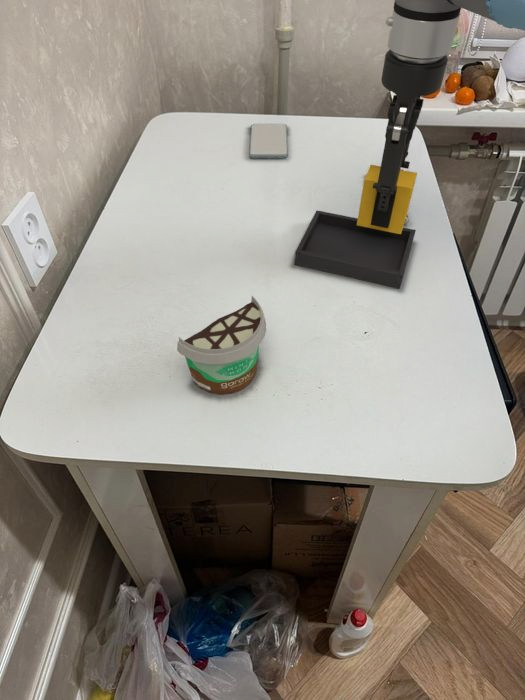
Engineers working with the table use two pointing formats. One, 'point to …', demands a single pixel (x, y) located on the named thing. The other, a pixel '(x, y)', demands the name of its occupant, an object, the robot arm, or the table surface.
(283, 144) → the rounded grey tile
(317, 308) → the table surface
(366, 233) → the black shallow rectangular tray
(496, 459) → the table surface
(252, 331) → the food container
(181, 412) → the table surface
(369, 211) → the yellow block
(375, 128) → the table surface
